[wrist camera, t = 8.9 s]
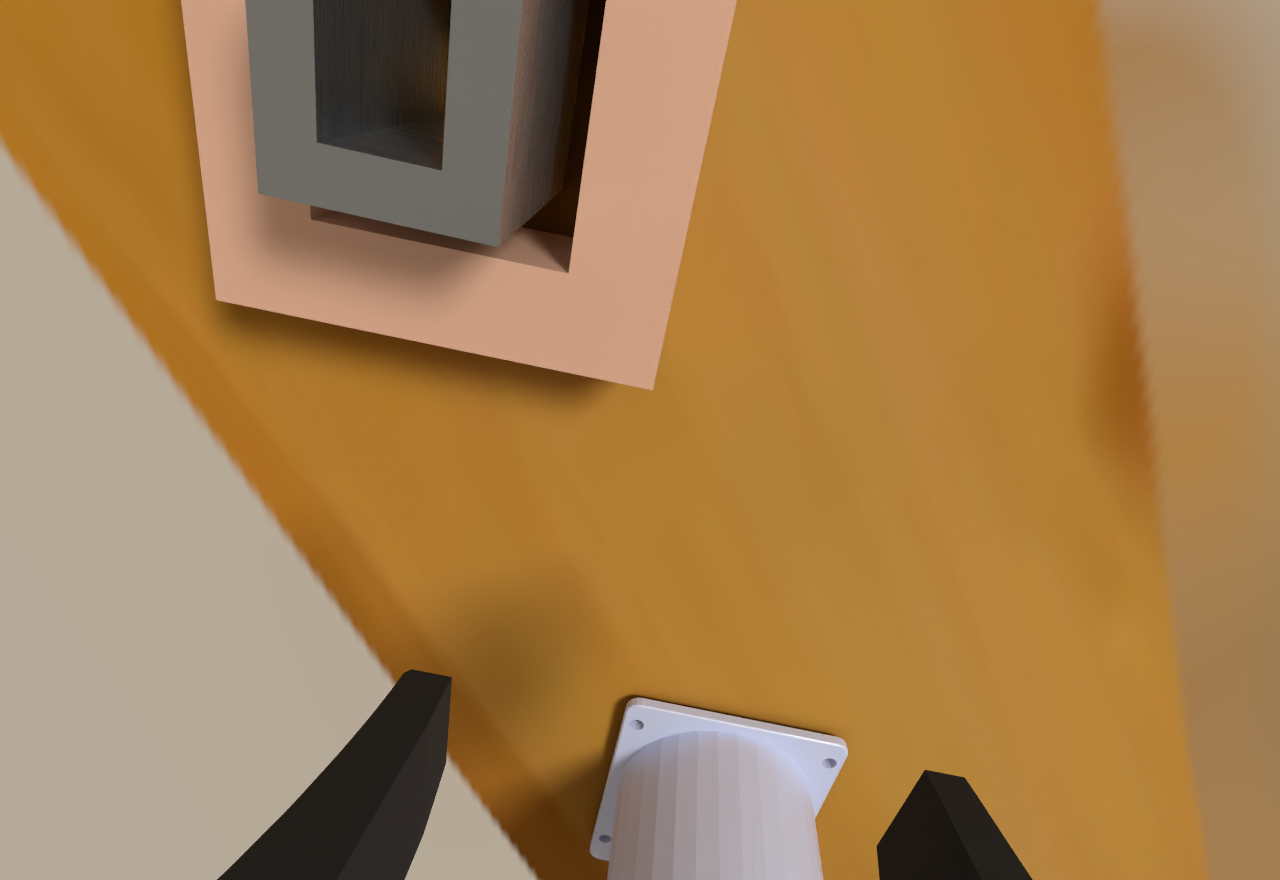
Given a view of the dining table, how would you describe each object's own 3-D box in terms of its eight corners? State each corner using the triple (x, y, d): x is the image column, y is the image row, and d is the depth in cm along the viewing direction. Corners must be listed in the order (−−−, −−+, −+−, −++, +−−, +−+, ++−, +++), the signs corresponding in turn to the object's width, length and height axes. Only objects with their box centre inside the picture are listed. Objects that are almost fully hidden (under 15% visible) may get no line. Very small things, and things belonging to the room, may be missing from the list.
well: (660, 343, 18) (652, 390, 16) (286, 265, 18) (216, 300, 16) (762, -131, 14) (775, -178, 11) (254, -243, 13) (143, -316, 11)
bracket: (563, 188, 17) (498, 247, 11) (399, 151, 17) (258, 193, 11) (590, -5, 15) (526, -42, 10) (405, -48, 15) (237, -108, 9)
